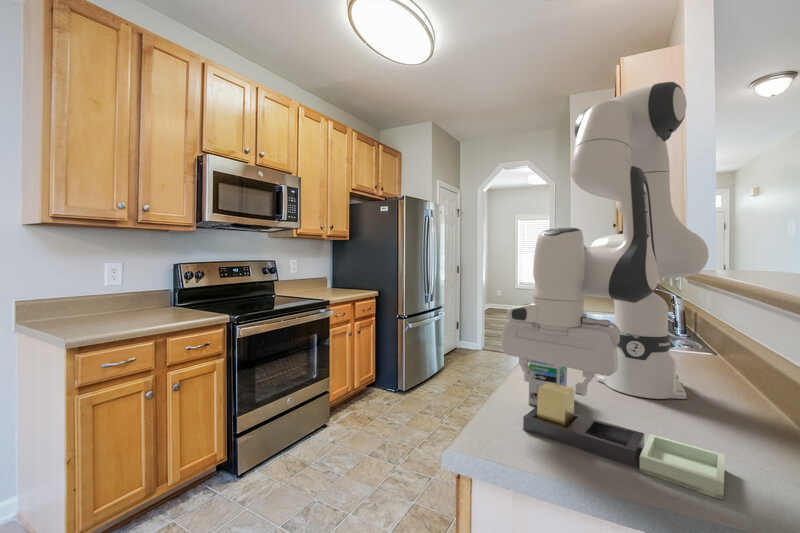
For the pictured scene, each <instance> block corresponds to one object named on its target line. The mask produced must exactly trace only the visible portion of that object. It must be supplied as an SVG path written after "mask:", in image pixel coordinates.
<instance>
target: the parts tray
mask: <svg viewBox="0 0 800 533" xmlns="http://www.w3.org/2000/svg"><path fill="white" fill-rule="evenodd" d="M725 455H726V454H723V453H720V452H717V451H713V450H710V449H706V448H702V447H699V446H695V445H691V444H688V443H685V442H681V441H677V440H673V439H669V438H666V437H663V436H659V435H656V434H652V433H650V434H649V435H648V437H647V440H646V442H645V443H644V448H643V450H642V452H641V455H640V458H639V469H638V470H639V472H640V473H644V474H645V475H649V476H651V477H654V478H657V479H660V480H664V481H666V482H668V483H671V484H675V485H677V486H681V487H684V488H686V489H690V490H693V491H696V492H698V493H701V494H704V495H707V496H709V497H713V498H716V499H719V500H722V501H724V497H725V496H724V494H725V493H724V492H725V491H724V490H725V467H726V466H725V462H726V459H725V458H726V456H725Z"/></svg>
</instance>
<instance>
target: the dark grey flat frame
mask: <svg viewBox="0 0 800 533" xmlns="http://www.w3.org/2000/svg"><path fill="white" fill-rule="evenodd" d="M522 425H523V426H522V429H523V430H524V431H527V432H529V433H533V434H535V435H537V436H541V437H544V438H547V439H550V440H553V441H556V442H559V443H561V444H565V445H567V446H571V447H573V448H577V449H579V450H583V451H585V452H589V453H591V454H594V455H598V456H600V457H603V458H606V459H609V460H611V461H615V462H618V463H621V464H624V465H627V466H629V467H633V468H636V466H637V464H638V461H640V455H641V452H642V450H643V448H644V446H645V433H644V432H641V431H636V430H633V429H629V428H626V427H623V426H619V425H615V424H612V423H608V422H605V421H601V420H598V419H594V418H591V417H588V416H587V417H586V416H583V415H580V414H576V413H574V422H573V423H572V424H571V425H570V426H569V427H568V428H566V427H563V426H559V425H556V424H553V423H550V422H546V421H543V420H540V419H537V406H536V407H534V408H532V409H531V410H530V411H528V413H526V414H525V415H524V416H523V424H522Z"/></svg>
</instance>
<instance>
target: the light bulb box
mask: <svg viewBox="0 0 800 533" xmlns="http://www.w3.org/2000/svg"><path fill="white" fill-rule="evenodd" d="M528 365H529V367H530V370H531V371H532V372H535V376H534V377H535V381H534V382H533V383H531V382H528V404H529V405H532V406H536V407H537V400H538V388H539V387H541V386H542V385H544V384H545V383H547V382H549V383H554V384H558V385H562V386H566V387H568V386H567V385H568V384H567V383H568V382H567V379H568V378H567V375H568V368H567V367H563V366H558V365H553V364H548V363H544V362H539V361H534V360H530V362H529V363H528Z"/></svg>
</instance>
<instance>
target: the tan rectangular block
mask: <svg viewBox="0 0 800 533" xmlns="http://www.w3.org/2000/svg"><path fill="white" fill-rule="evenodd" d="M536 407H537V419H540V420H543V421H546V422H550V423H553V424H556V425H559V426H563V427H566V428H568V427H569V426H570V425H571V424H572V423H573V422H574V414H575V388H574V387H570V386H567V387H566V386H562V385H558V384H554V383H549V382H547V383H545V384H544V385H542V386H541V387H539V388H538V400H537V406H536Z"/></svg>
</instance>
